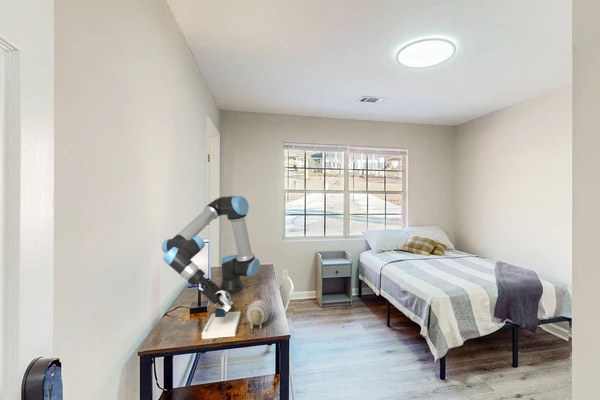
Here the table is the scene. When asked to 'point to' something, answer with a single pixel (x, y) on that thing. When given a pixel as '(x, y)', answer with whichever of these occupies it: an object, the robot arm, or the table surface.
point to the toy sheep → (257, 313)
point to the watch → (220, 311)
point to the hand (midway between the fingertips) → (229, 307)
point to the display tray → (221, 326)
